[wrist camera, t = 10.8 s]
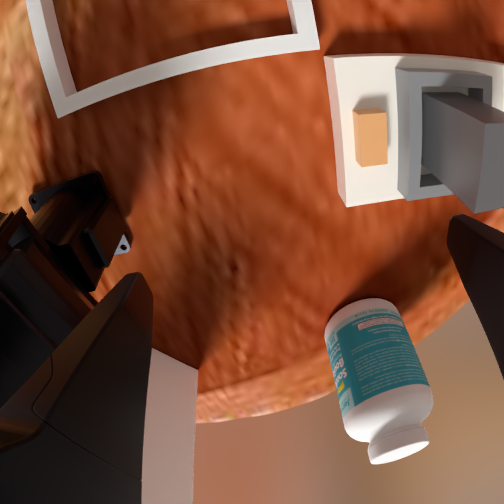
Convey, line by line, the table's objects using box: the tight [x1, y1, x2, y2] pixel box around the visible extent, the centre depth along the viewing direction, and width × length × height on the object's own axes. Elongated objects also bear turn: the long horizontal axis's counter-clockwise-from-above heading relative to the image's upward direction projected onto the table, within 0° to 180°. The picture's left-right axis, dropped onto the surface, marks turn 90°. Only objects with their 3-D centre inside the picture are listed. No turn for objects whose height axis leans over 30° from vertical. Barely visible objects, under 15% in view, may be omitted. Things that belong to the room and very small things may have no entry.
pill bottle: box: [325, 298, 434, 464], centre depth 24 cm, size 8×7×14 cm
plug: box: [421, 92, 504, 214], centre depth 14 cm, size 3×4×6 cm, turn 11°
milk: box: [141, 348, 198, 504], centre depth 24 cm, size 6×6×22 cm
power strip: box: [324, 53, 504, 207], centre depth 16 cm, size 21×9×4 cm, turn 101°
